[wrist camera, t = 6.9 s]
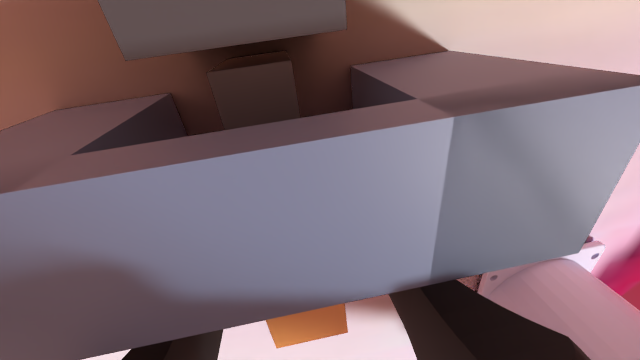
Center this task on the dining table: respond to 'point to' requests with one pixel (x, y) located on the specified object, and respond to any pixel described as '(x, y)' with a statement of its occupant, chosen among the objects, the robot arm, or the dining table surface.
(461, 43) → the dining table surface
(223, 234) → the housing
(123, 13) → the plug
